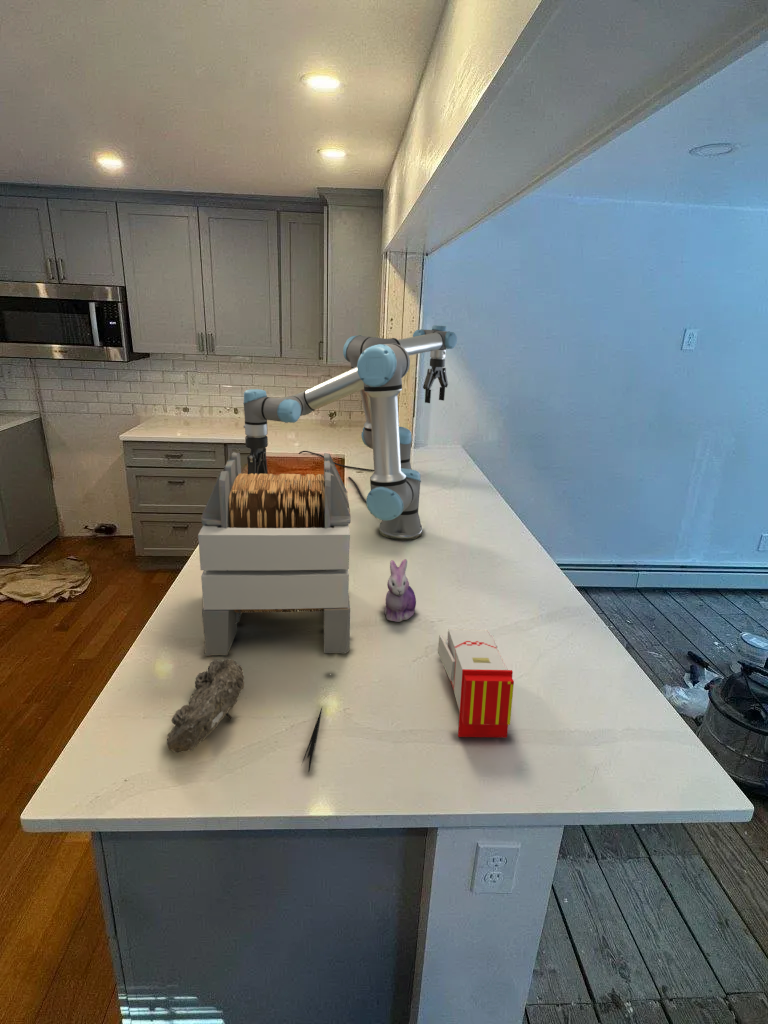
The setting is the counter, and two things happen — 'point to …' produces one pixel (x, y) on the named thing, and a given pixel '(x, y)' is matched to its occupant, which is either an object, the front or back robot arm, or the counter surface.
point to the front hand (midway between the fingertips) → (258, 498)
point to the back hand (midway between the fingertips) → (434, 401)
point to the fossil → (206, 705)
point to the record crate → (275, 551)
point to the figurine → (399, 594)
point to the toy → (478, 682)
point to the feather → (313, 740)
